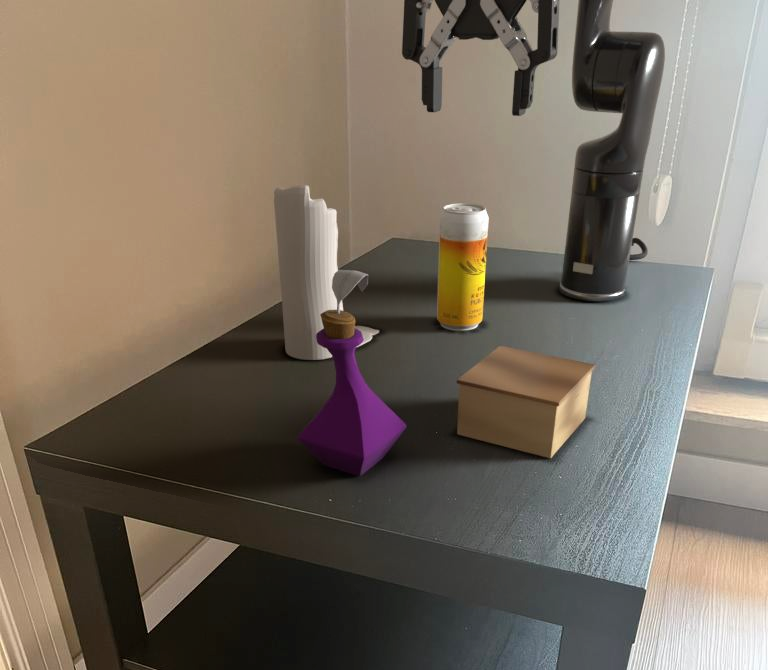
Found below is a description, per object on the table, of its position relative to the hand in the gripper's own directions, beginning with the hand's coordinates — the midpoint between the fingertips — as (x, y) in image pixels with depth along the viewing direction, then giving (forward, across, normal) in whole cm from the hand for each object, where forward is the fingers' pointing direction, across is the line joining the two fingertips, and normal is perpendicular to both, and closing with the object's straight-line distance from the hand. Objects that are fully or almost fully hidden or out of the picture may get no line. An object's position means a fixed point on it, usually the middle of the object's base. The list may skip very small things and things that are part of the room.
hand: (475, 113), depth 76 cm
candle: (+28, +19, -5) cm, 34 cm away
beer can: (+28, +7, -17) cm, 34 cm away
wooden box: (+28, -9, +8) cm, 30 cm away
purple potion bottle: (+28, +3, +22) cm, 36 cm away
